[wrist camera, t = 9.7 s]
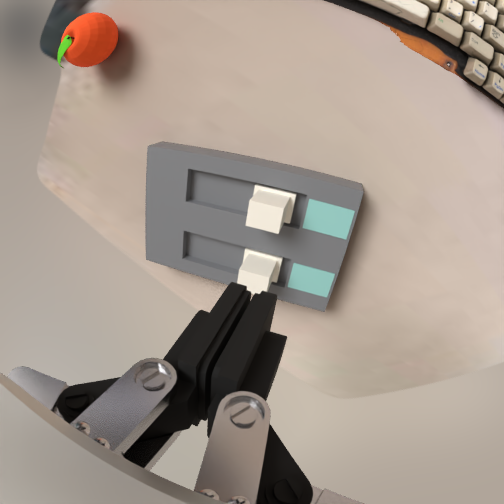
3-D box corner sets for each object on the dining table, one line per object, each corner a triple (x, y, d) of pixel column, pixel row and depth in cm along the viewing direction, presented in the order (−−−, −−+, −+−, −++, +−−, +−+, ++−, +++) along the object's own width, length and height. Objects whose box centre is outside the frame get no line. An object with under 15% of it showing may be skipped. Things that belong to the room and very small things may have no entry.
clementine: (100, 83, 31) (59, 87, 25) (77, 53, 30) (37, 53, 24) (139, 36, 27) (99, 29, 21) (112, 7, 26) (73, -2, 20)
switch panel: (361, 183, 29) (363, 192, 27) (326, 296, 36) (324, 312, 34) (162, 141, 33) (147, 146, 30) (158, 248, 40) (145, 259, 37)
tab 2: (283, 255, 33) (275, 276, 29) (278, 278, 34) (269, 301, 31) (247, 245, 34) (234, 265, 30) (243, 269, 35) (231, 290, 31)
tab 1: (297, 192, 30) (290, 206, 26) (290, 220, 31) (283, 238, 27) (256, 183, 30) (244, 195, 26) (252, 211, 32) (239, 227, 28)
